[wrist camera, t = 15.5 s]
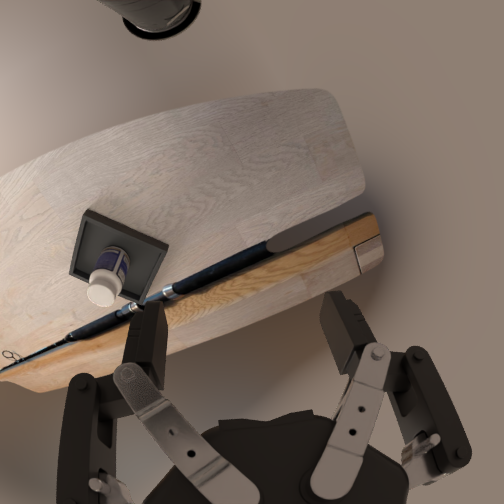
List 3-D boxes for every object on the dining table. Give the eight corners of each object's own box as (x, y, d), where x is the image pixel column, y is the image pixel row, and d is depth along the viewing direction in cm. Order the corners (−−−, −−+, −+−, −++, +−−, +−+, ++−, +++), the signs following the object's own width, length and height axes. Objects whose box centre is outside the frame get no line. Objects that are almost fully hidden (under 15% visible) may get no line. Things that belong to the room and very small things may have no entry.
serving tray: (72, 267, 48) (68, 274, 46) (87, 208, 42) (82, 214, 40) (143, 297, 53) (141, 305, 52) (168, 244, 48) (167, 251, 46)
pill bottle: (96, 260, 47) (78, 297, 39) (109, 239, 45) (91, 274, 37) (121, 276, 49) (108, 315, 41) (136, 257, 48) (124, 295, 39)
